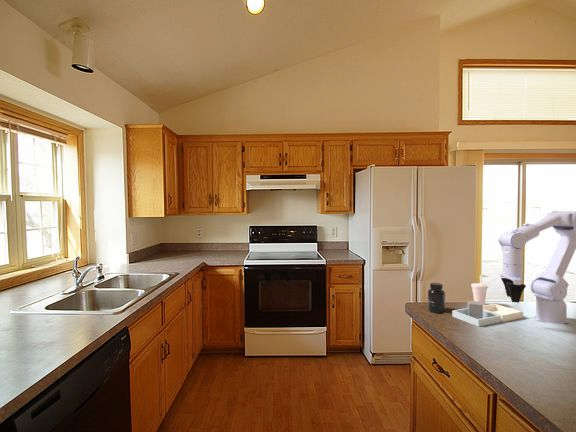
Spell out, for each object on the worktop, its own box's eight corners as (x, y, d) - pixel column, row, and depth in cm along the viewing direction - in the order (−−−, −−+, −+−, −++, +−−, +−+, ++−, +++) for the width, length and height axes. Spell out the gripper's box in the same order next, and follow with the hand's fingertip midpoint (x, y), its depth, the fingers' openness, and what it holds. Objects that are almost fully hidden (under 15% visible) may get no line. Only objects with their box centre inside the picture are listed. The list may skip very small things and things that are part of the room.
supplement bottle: (426, 311, 127) (426, 284, 127) (429, 307, 132) (428, 281, 132) (444, 314, 123) (443, 286, 123) (446, 310, 128) (445, 283, 128)
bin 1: (473, 314, 123) (473, 307, 123) (500, 323, 112) (500, 315, 112) (452, 317, 119) (452, 310, 119) (478, 328, 108) (478, 320, 108)
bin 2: (494, 310, 127) (494, 303, 126) (523, 319, 116) (522, 311, 116) (475, 313, 123) (475, 306, 123) (502, 323, 112) (502, 315, 112)
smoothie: (490, 308, 129) (490, 277, 129) (474, 307, 130) (474, 276, 130) (484, 304, 135) (483, 274, 135) (469, 303, 137) (468, 273, 137)
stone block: (467, 316, 118) (467, 300, 118) (481, 318, 116) (480, 301, 116) (469, 320, 114) (469, 303, 114) (482, 321, 112) (482, 305, 112)
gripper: (496, 260, 119) (496, 293, 120) (503, 266, 106) (504, 303, 107) (517, 261, 116) (517, 295, 116) (528, 267, 103) (528, 305, 103)
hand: (512, 299), depth 111 cm, fingers open, 7 cm apart
